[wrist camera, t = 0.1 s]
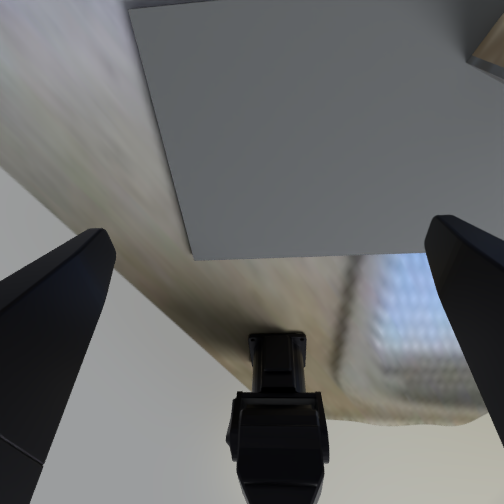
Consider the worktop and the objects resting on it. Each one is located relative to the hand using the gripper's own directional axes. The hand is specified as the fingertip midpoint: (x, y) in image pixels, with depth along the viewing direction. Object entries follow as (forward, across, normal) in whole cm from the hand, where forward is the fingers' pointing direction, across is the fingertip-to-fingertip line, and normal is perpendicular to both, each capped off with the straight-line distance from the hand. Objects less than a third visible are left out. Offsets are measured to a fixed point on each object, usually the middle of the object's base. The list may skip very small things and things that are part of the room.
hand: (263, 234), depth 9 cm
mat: (+15, -6, +4) cm, 17 cm away
